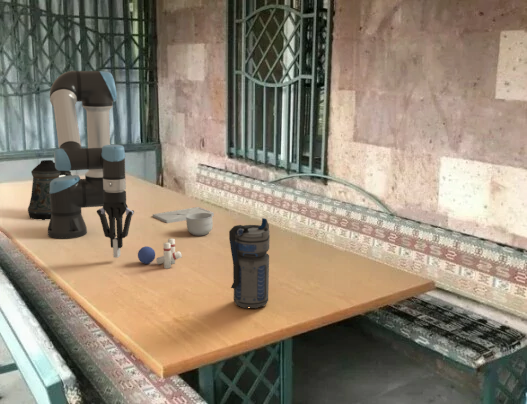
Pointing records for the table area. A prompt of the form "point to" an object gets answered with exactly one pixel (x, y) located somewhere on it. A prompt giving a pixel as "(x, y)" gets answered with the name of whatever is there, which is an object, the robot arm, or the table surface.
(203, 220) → the teacup
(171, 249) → the pin
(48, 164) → the beer stein
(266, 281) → the beverage bottle
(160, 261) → the front pin
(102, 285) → the table surface
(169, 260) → the pin
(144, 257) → the ball
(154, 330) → the table surface
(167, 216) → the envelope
